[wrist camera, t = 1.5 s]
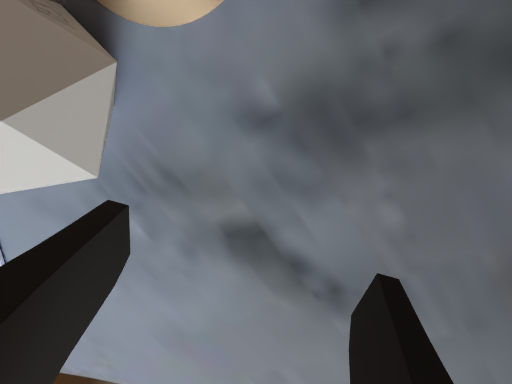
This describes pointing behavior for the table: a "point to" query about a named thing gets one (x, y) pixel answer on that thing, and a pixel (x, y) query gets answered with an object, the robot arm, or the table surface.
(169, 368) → the table surface
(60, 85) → the die
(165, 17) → the coaster
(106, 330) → the table surface
